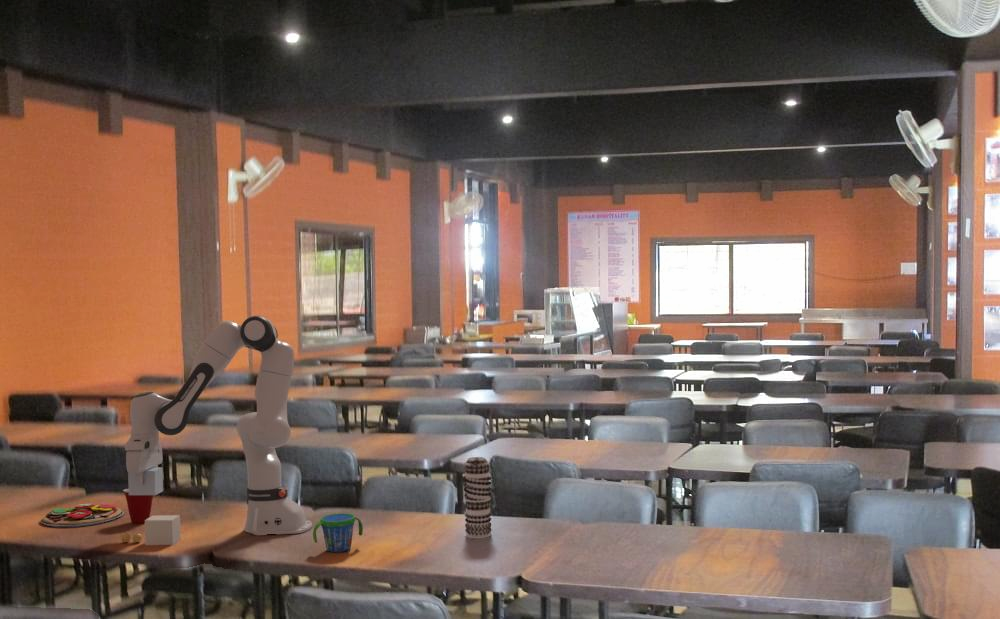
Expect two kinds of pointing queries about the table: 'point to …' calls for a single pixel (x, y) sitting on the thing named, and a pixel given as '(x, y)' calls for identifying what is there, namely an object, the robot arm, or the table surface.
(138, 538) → the amber marble
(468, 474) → the decorative candle
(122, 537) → the amber marble
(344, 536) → the snack cup
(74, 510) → the toy pizza
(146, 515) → the plastic cup
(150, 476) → the white block
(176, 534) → the grey cuboid box
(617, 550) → the table surface
